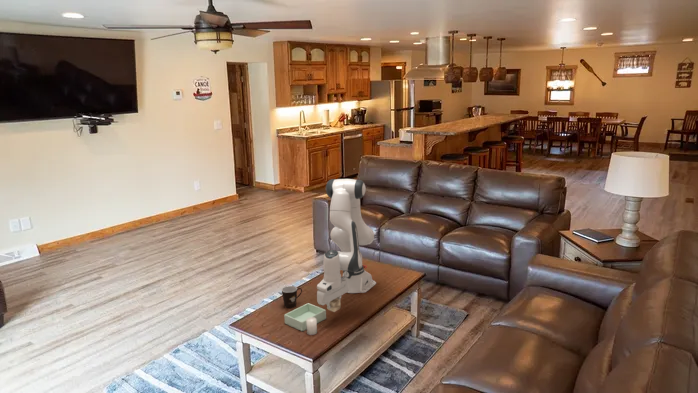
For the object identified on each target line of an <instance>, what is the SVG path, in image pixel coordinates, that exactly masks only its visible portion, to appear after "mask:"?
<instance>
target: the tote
mask: <svg viewBox="0 0 698 393" xmlns="http://www.w3.org/2000/svg"><path fill="white" fill-rule="evenodd" d="M310 317H314V318H316V320H317V324H319V323H321V322H323V321H324V320H327V310H326V309H324V308H322V307H321V306H317V305H314V304H312V303H309V302H307V303H306V304H305V303H304V304H303V305H301V306H299V307H297V308H295V309H293V310H291V311H289V312H287V313H284V316H283V318H284V324H285V325H287V326H289V327H291V328H293V329H296V330H298V331H300V332H304V331H307V323H306V319H307V318H310Z"/></svg>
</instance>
